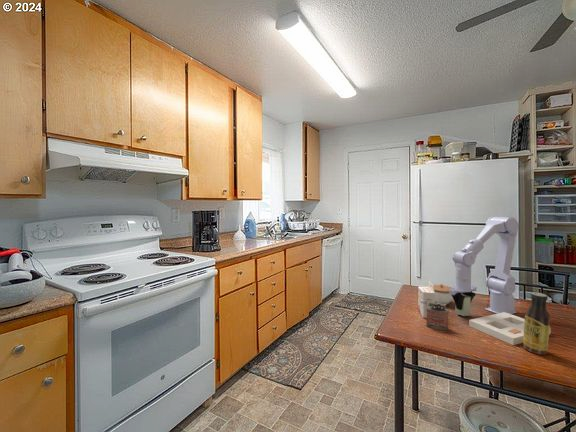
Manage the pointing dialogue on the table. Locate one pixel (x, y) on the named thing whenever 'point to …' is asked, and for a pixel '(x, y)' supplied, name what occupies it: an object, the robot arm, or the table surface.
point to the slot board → (501, 327)
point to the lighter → (437, 316)
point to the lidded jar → (442, 294)
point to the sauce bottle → (537, 325)
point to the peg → (464, 307)
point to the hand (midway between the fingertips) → (462, 308)
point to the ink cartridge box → (425, 298)
